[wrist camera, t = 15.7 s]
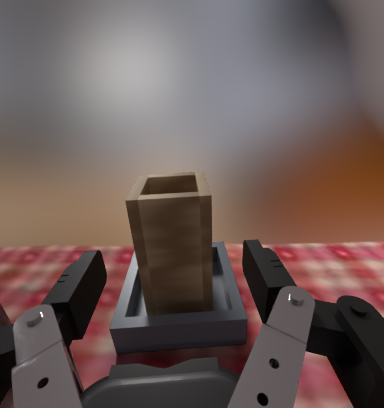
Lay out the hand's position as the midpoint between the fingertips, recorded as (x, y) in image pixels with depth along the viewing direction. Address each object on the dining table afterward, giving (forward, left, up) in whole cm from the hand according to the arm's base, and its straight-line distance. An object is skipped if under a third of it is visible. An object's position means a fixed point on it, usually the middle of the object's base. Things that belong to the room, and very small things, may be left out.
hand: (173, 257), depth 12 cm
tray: (-2, +4, -8) cm, 9 cm away
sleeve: (-2, +4, -7) cm, 8 cm away
